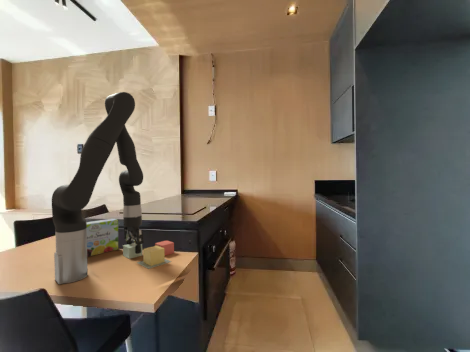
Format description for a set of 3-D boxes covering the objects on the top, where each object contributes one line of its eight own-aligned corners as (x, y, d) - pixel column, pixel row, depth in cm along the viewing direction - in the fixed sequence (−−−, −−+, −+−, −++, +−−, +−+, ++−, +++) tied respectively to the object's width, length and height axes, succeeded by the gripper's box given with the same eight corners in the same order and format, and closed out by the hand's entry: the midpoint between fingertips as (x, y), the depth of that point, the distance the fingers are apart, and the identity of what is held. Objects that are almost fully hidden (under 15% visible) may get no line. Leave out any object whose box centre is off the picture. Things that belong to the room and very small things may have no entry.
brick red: (162, 258, 105) (162, 245, 105) (155, 255, 109) (155, 243, 109) (174, 254, 110) (173, 242, 110) (166, 252, 114) (166, 240, 114)
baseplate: (148, 270, 91) (148, 268, 91) (136, 264, 98) (136, 262, 98) (171, 263, 98) (171, 261, 98) (158, 258, 105) (158, 256, 105)
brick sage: (129, 260, 103) (128, 248, 103) (123, 257, 107) (122, 245, 107) (142, 257, 107) (142, 244, 107) (136, 254, 111) (136, 242, 111)
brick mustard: (150, 266, 94) (150, 251, 94) (143, 262, 98) (143, 248, 98) (164, 261, 98) (164, 248, 98) (157, 258, 102) (156, 245, 102)
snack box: (69, 262, 102) (69, 226, 102) (64, 259, 106) (64, 225, 106) (119, 249, 119) (118, 218, 119) (113, 247, 123) (112, 217, 123)
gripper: (117, 214, 109) (118, 250, 109) (131, 218, 99) (132, 257, 100) (133, 212, 115) (135, 246, 115) (148, 215, 105) (149, 252, 105)
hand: (133, 251), depth 107 cm, fingers open, 8 cm apart
